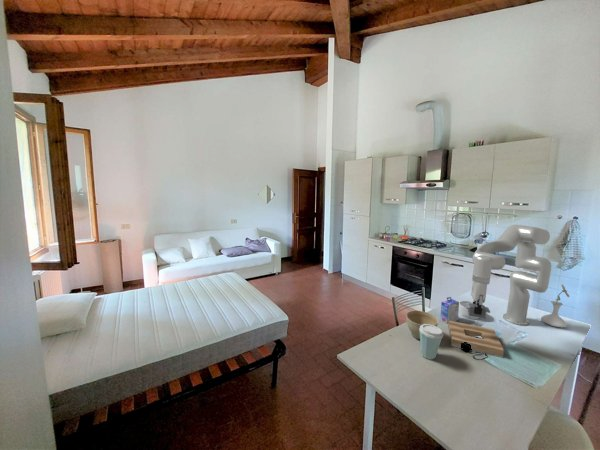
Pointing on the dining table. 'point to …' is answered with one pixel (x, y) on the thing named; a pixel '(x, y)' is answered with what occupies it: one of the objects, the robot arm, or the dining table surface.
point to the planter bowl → (419, 321)
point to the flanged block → (472, 307)
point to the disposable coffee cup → (430, 340)
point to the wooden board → (484, 345)
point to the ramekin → (463, 309)
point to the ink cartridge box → (449, 310)
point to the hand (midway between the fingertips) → (476, 311)
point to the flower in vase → (555, 313)
